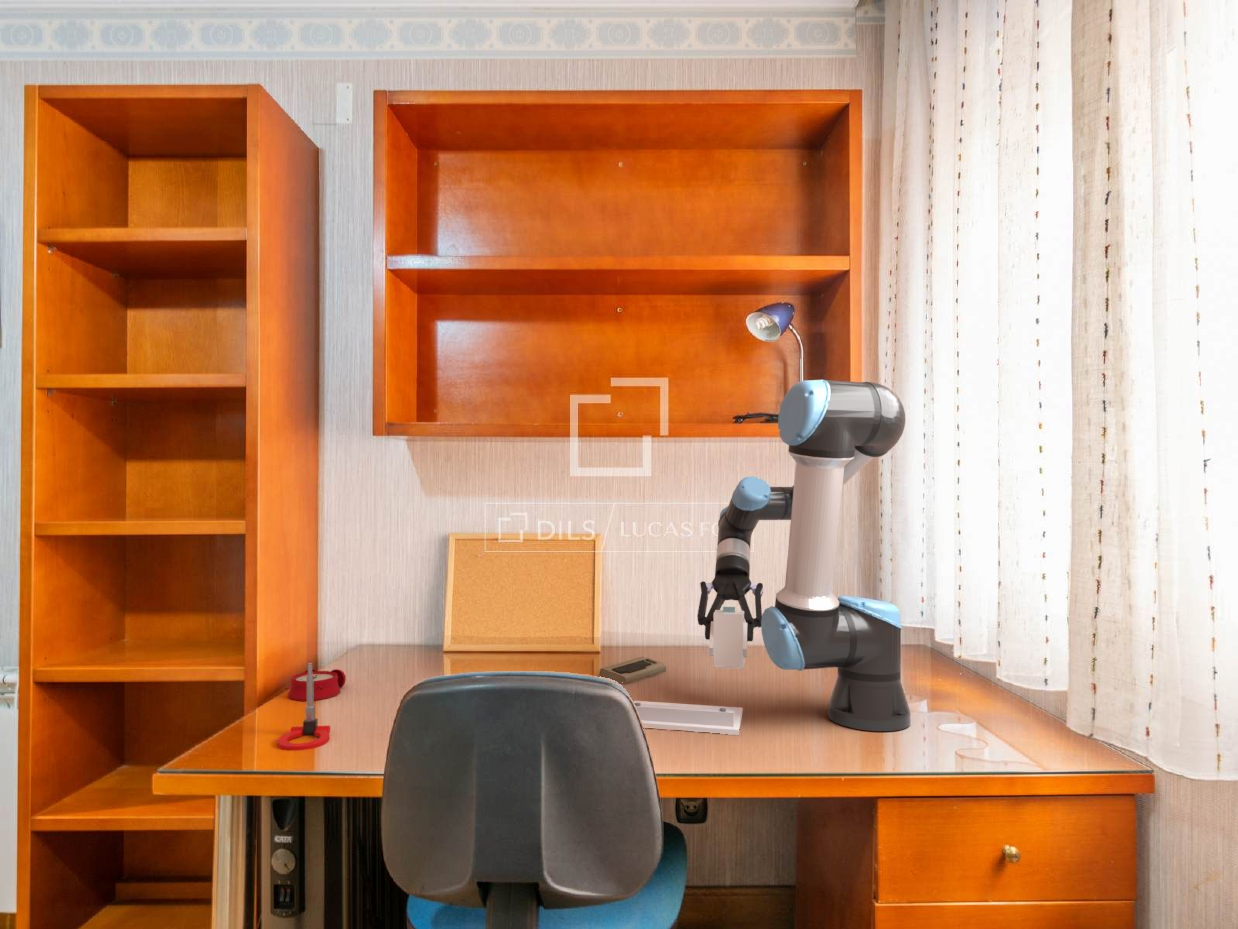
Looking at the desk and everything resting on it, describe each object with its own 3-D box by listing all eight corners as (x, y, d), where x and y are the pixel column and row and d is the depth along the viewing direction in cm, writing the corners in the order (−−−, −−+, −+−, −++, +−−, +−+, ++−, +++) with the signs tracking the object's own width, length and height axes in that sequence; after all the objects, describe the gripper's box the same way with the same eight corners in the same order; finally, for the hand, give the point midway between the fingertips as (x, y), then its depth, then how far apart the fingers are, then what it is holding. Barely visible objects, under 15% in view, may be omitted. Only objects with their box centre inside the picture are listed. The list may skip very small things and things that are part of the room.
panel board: (742, 712, 155) (742, 693, 155) (738, 735, 141) (738, 714, 141) (633, 705, 159) (633, 686, 160) (619, 726, 146) (619, 706, 146)
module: (744, 663, 164) (744, 606, 164) (743, 669, 159) (743, 609, 159) (715, 662, 165) (715, 605, 165) (713, 667, 160) (713, 608, 160)
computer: (625, 686, 176) (625, 671, 176) (598, 680, 181) (598, 666, 181) (666, 673, 188) (666, 659, 188) (640, 668, 193) (640, 655, 193)
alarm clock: (277, 686, 160) (305, 653, 175) (279, 714, 161) (307, 679, 176) (328, 686, 160) (352, 653, 175) (330, 714, 162) (353, 679, 176)
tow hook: (322, 752, 133) (335, 732, 142) (322, 676, 132) (335, 661, 142) (270, 754, 132) (287, 734, 141) (270, 678, 132) (286, 662, 141)
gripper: (776, 575, 175) (776, 665, 159) (691, 573, 179) (682, 661, 163) (776, 553, 170) (775, 643, 154) (688, 552, 174) (679, 639, 158)
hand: (728, 652), depth 158 cm, fingers closed on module, 6 cm apart
